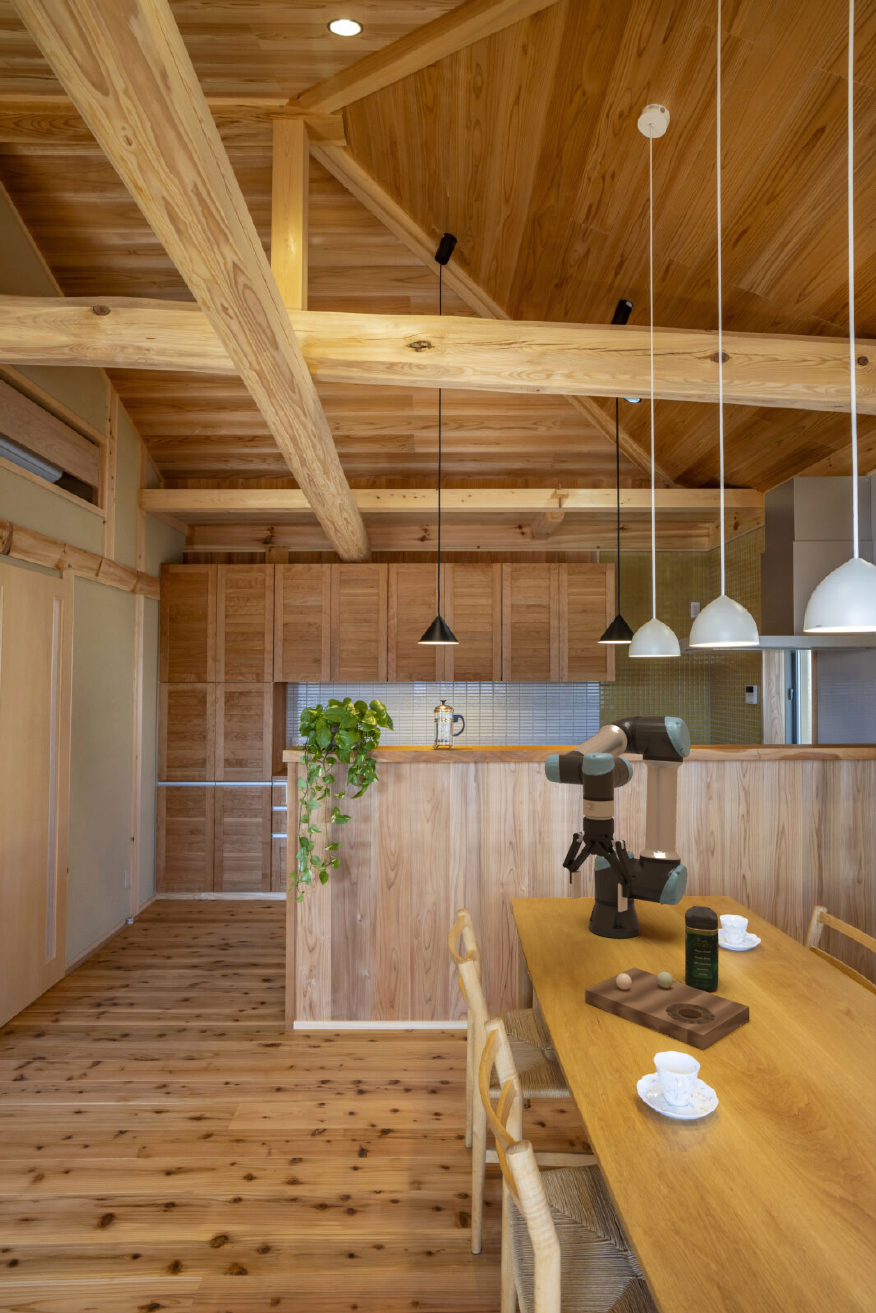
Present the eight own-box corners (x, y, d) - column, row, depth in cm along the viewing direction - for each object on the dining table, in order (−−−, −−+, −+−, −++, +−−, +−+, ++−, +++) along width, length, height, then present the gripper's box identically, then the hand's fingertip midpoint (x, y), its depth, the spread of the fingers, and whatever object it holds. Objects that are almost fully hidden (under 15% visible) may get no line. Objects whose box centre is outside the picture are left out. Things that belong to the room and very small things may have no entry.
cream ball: (613, 988, 177) (612, 973, 177) (622, 984, 179) (621, 969, 179) (626, 993, 174) (625, 978, 174) (634, 989, 176) (634, 973, 177)
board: (585, 1002, 176) (584, 989, 176) (634, 979, 190) (633, 967, 190) (703, 1049, 154) (703, 1035, 154) (749, 1020, 167) (749, 1006, 167)
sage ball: (654, 987, 178) (654, 971, 178) (662, 983, 180) (662, 968, 180) (667, 992, 175) (667, 976, 175) (676, 987, 177) (676, 972, 177)
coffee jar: (719, 994, 181) (718, 916, 181) (684, 989, 183) (684, 913, 184) (718, 978, 190) (717, 905, 190) (685, 974, 192) (684, 902, 193)
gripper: (548, 811, 190) (549, 896, 190) (633, 826, 172) (634, 919, 171) (567, 808, 195) (567, 890, 195) (651, 821, 177) (652, 912, 176)
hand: (598, 904), depth 183 cm, fingers open, 13 cm apart
